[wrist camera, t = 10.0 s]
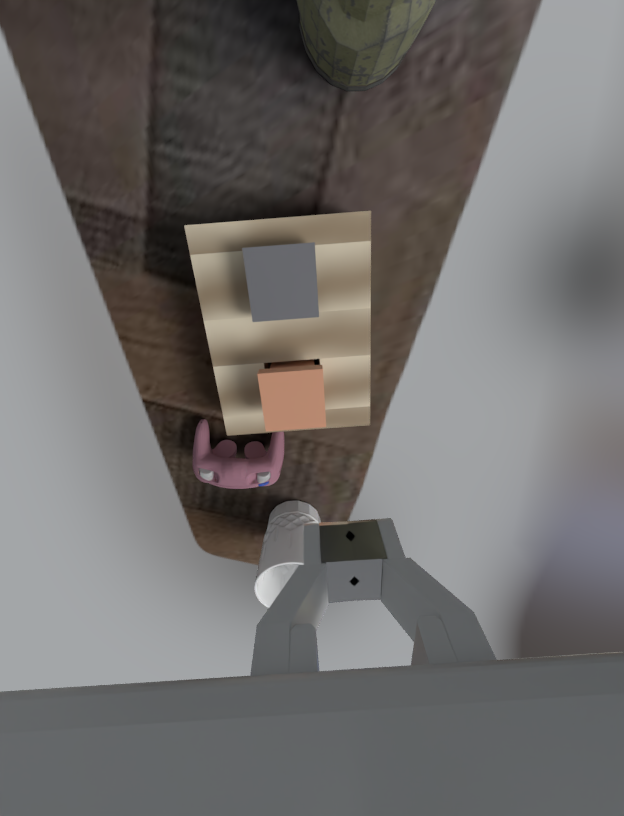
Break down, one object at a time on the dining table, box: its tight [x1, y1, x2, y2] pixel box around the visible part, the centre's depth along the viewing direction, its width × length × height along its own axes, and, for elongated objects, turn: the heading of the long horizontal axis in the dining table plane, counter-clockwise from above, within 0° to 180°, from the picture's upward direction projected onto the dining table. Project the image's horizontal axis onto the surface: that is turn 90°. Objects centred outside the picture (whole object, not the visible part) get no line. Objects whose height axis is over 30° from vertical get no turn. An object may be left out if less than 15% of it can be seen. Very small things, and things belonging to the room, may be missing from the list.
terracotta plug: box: [257, 359, 326, 432], centre depth 30 cm, size 5×5×7 cm
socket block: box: [184, 211, 371, 436], centre depth 30 cm, size 18×14×5 cm
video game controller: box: [193, 419, 284, 489], centre depth 35 cm, size 10×5×7 cm, turn 86°
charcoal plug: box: [242, 242, 319, 322], centre depth 27 cm, size 5×5×7 cm
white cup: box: [254, 500, 321, 608], centre depth 38 cm, size 8×8×10 cm
